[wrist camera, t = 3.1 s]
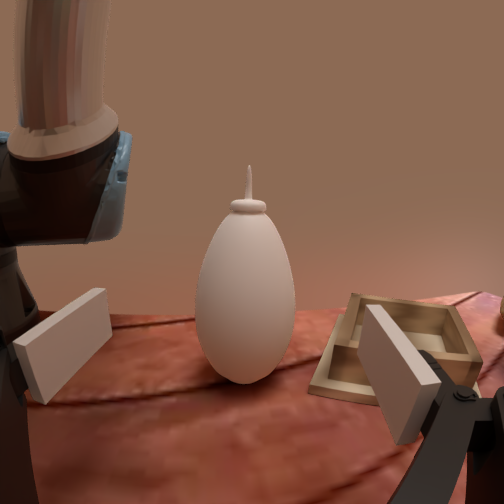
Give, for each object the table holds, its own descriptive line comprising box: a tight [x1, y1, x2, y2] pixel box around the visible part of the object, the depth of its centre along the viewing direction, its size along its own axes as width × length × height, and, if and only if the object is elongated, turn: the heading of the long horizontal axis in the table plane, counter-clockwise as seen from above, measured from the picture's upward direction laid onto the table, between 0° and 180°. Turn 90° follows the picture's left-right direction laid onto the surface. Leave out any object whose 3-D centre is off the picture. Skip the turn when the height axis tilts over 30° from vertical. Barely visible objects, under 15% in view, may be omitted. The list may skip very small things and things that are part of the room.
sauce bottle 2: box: [195, 165, 295, 384], centre depth 24 cm, size 8×8×18 cm
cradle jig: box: [308, 293, 483, 406], centre depth 27 cm, size 16×16×4 cm
